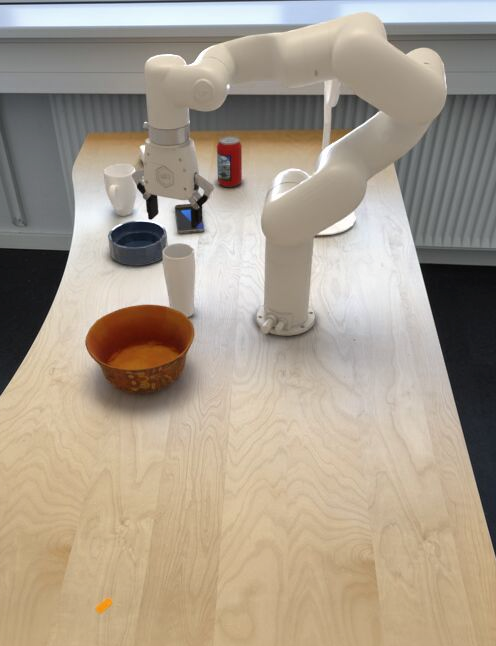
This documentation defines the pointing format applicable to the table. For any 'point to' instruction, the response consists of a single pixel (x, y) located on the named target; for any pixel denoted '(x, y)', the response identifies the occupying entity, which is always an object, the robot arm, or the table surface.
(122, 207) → the mug
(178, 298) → the tall white cup
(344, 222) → the desk lamp
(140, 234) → the blue bowl
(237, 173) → the beverage can
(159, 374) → the bowl
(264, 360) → the table surface
